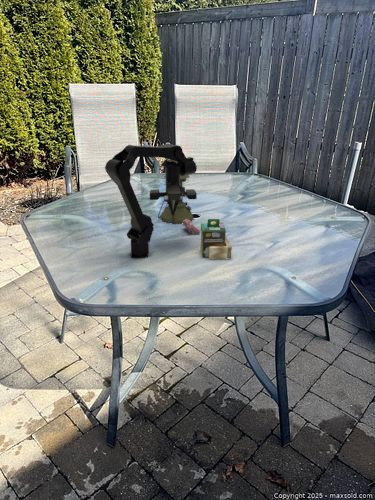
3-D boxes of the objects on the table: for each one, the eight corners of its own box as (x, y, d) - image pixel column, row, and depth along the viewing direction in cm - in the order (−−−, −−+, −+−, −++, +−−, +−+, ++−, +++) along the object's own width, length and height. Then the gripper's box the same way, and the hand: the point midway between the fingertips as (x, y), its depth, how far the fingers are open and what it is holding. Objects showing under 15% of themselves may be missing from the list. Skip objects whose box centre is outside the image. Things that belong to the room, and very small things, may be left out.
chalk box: (222, 248, 157) (223, 214, 152) (225, 257, 149) (227, 221, 143) (199, 248, 157) (200, 214, 151) (201, 257, 149) (202, 221, 143)
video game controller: (185, 231, 180) (179, 219, 176) (193, 226, 180) (187, 214, 177) (192, 238, 171) (186, 226, 168) (201, 233, 172) (195, 221, 168)
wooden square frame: (209, 259, 147) (209, 247, 145) (204, 245, 159) (204, 234, 157) (230, 259, 147) (231, 247, 146) (224, 245, 160) (224, 234, 158)
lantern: (189, 226, 182) (190, 163, 170) (154, 223, 185) (152, 161, 173) (196, 213, 200) (198, 156, 188) (164, 211, 203) (164, 154, 191)
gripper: (149, 182, 141) (150, 221, 147) (198, 181, 143) (197, 220, 149) (149, 175, 152) (150, 213, 158) (195, 175, 153) (194, 212, 159)
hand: (172, 214), depth 156 cm, fingers closed
